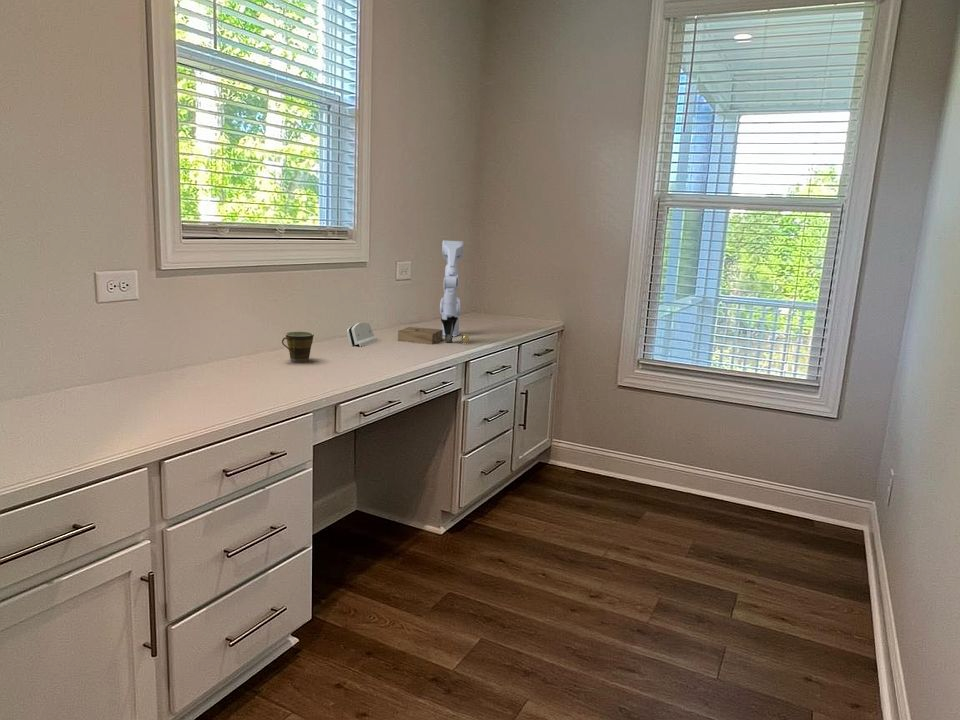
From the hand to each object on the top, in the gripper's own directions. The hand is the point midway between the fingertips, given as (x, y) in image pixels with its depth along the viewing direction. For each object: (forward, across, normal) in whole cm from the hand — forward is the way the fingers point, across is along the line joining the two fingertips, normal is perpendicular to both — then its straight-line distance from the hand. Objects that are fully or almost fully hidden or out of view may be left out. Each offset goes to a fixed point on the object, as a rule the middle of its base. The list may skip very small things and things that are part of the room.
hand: (448, 333), depth 306 cm
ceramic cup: (+4, +66, -37) cm, 76 cm away
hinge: (+4, +21, -32) cm, 39 cm away
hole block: (+4, +1, -13) cm, 14 cm away
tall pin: (+3, 0, 0) cm, 3 cm away
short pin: (+4, -2, +7) cm, 8 cm away
